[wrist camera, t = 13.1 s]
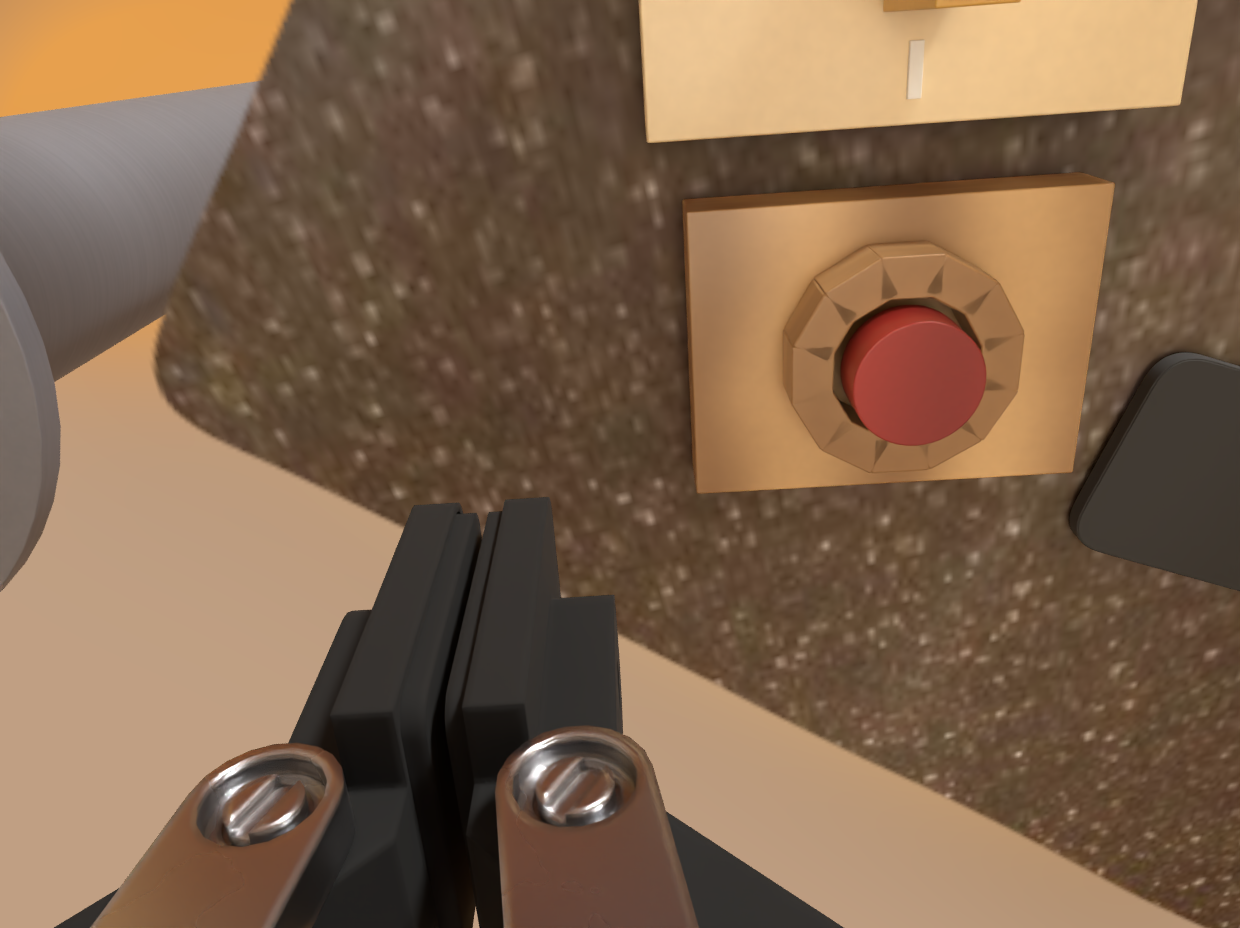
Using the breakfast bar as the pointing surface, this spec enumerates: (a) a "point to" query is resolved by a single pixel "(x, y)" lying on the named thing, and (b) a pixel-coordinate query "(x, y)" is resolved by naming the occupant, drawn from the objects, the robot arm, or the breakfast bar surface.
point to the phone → (1171, 475)
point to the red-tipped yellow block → (936, 4)
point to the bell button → (912, 375)
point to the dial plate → (900, 63)
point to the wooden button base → (872, 282)
